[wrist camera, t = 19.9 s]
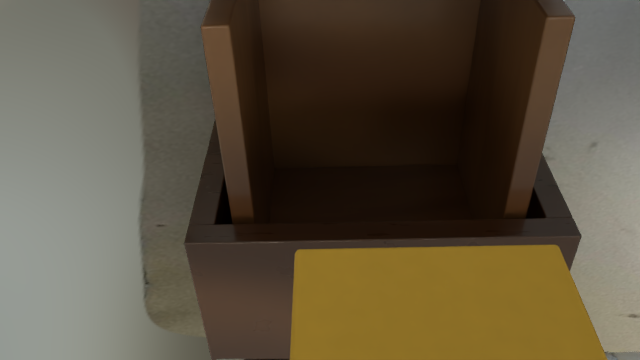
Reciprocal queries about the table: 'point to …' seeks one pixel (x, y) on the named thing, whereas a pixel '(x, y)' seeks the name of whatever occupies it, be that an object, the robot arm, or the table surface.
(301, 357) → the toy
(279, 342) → the cabinet
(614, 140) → the table surface
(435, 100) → the drawer
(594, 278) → the table surface
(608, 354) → the robot arm
